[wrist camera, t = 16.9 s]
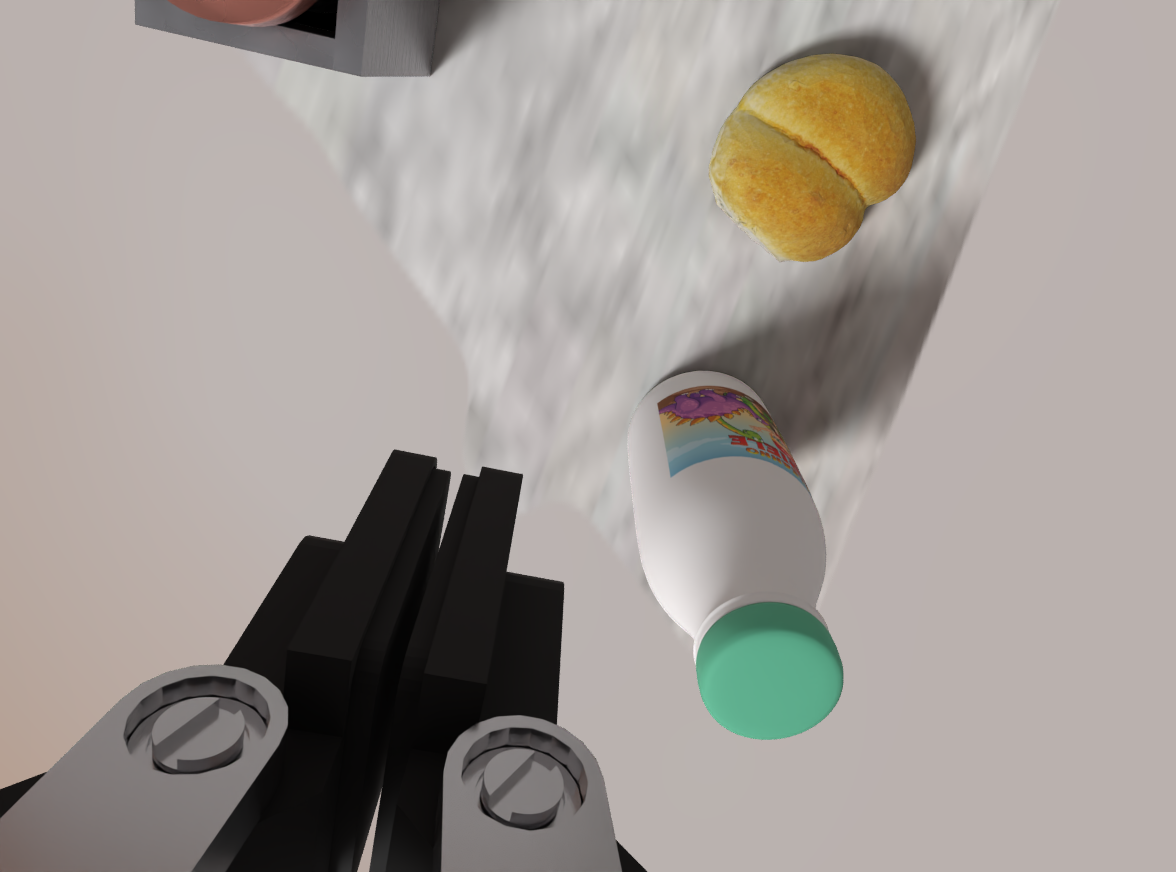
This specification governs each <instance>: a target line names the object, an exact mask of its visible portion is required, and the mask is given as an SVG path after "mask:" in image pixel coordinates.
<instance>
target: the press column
mask: <svg viewBox="0 0 1176 872" xmlns="http://www.w3.org/2000/svg"><path fill="white" fill-rule="evenodd" d="M439 2H440V0H338V9H337V21H336V32H333V31H329V30H325V29H320V28H316V27H312V26H308V25H303V24H299V23H296V18H294V19H292V20H290V21H287V22H285V23H281V24H278V25H273V26H266V27H250V26H243V25H236V24H229V23H222V22H216V21H210V20H207V19H203V18H200V17H197V16H194V15H192V14H190V13H188V12H186V11H183V10H182V9H180V8H178V7H177V6H175V5H173V4H172V3H170V2H169V1H168V0H135V24H136V25H140V26H144V27H148V28H153V29H158V30H161V31H166V32H170V33H175V34H179V35H183V36H188V37H192V38H196V39H201V40H205V41H209V42H214V43H218V44H223V45H227V46H231V47H235V48H240V49H244V50H248V51H253V52H257V53H261V54H266V55H270V56H274V57H279V58H283V59H287V60H292V61H296V62H300V63H305V64H309V65H313V66H318V67H322V68H326V69H331V70H335V71H339V72H344V73H348V74H352V75H357V76H361V77H377V76H430V74H431V66H432V58H433V50H434V42H435V34H436V26H437V18H438V10H439Z"/></svg>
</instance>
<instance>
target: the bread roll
mask: <svg viewBox="0 0 1176 872" xmlns="http://www.w3.org/2000/svg"><path fill="white" fill-rule="evenodd" d="M915 142H916V136H915V127H914V121H913V119H912V115H911V112H910V109H909V106H908V103H907V101H906V98H905V96H904V94H903V92H902V90H901V89H900V87H899V86H898V85H897V83H896V82H895V81H894V79H893V78H892V77H891V76H890V75H889V74H888V73H887V72H886V71H885V70H883V69H882V68H881V67H879V66H878V65H877V64H874V63H872V62H869V61H867V60H864V59H862V58H858V57H855V56H848V55H842V54H820V55H812V56H807V57H804V58H801V59H797V60H793V61H790V62H788V63H786V64H783V65H782V66H780V67H778V68H776V69H774V70H773V71H771V72H769V73H767V74H766V75H764V76H763V77H762V78H760V79H759V80H758V81H756V82H755V83H754V84H753V85H752V86H751V87H750V88H749V90H748V91H747V92H746V93H745V95H744V96H743V98H742V100H741V101H740V102H739V104H738V106H737V107H736V108H735V109H734V110H733V112H732V113H731V115H730V116H729V117H728V118H727V119H726V121H725V123H724V124H723V126H722V128H721V130H720V132H719V134H718V137H717V140H716V143H715V145H714V148H713V151H712V157H711V161H710V165H709V178H710V181H711V185H712V189H713V193H714V195H715V200H716V203H717V205H718V206H719V207H720V208H721V209H722V210H723V211H724V212H725V213H726V215H727V216H728V217H729V218H730V219H731V220H732V221H733V222H734V223H735V224H736V225H737V226H738V227H739V228H740V229H742V230H743V231H744V232H745V233H747V235H748V236H749V238H750V239H752V240H753V241H754V242H756V243H757V244H760V245H762V246H763V248H764V249H765V250H766V251H767V252H768V253H770V254H771V255H772V256H774V257H775V258H776V259H777V260H778V261H779V262H783V261H789V260H793V261H800V262H808V261H816V260H819V259H822V258H825V257H827V256H829V255H831V254H833V253H835V252H836V251H838V250H839V249H841V248H842V247H844V246H845V245H846V244H847V243H848V242H849V241H850V240H851V239H852V238H853V236H854V235H855V233H856V232H857V231H858V229H859V228H860V226H861V223H862V221H863V216H864V211H865V209H866V208H867V207H869V206H870V205H872V204H876V203H879V202H881V201H884V200H886V199H887V198H889V197H890V196H891V195H893V194H894V193H896V192H897V191H898V189H899V188H900V187H901V186H902V184H903V183H904V182H905V180H906V178H907V177H908V174H909V172H910V169H911V167H912V161H913V156H914V151H915Z"/></svg>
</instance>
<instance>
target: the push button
mask: <svg viewBox="0 0 1176 872" xmlns="http://www.w3.org/2000/svg"><path fill="white" fill-rule="evenodd" d="M168 1H169V2H170V3H172V4H173V5H175V6H177V7H178V8H180V9H182V10H183V11H186V12H188V13H190V14H192V15H194V16H197V17H200V18H203V19H207V20H210V21H216V22H222V23H229V24H236V25H243V26H250V27H266V26H273V25H278V24H281V23H285V22H287V21H290V20H292V19H294V18H296V17H298V16H299V15H301V14H302V13H304V12H305V11H311V12H317V13H334V12H337V9H338V0H168Z"/></svg>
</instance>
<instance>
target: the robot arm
mask: <svg viewBox="0 0 1176 872" xmlns="http://www.w3.org/2000/svg"><path fill="white" fill-rule="evenodd" d="M436 468H437V458H435V457H430V456H425V455H420V454H415V453H410V452H405V451H400V450H393V452H392V453H391V455H390V457H389V459H388V461H387V463H386V465H385V467H384V468H383V470H382V472H381V474H380V476H379V478H378V480H377V482H376V484H375V485H374V487H373V489H372V491H371V493H370V495H369V497H368V499H367V501H366V502H365V504H364V506H363V508H362V510H361V512H360V514H359V515H358V517H357V519H356V521H355V523H354V525H353V527H352V529H351V531H350V533H349V534H348V536H347V538H346V540H345V542H342V541H337V540H331V539H326V538H320V537H315V536H310V535H309V536H305V537H304V538H303V540H302V541H301V542H300V543H299V545H298V546H297V548H296V550H295V551H294V553H293V555H292V556H291V558H290V559H289V561H288V563H287V564H286V566H285V567H284V569H283V571H282V572H281V574H280V575H279V577H278V579H277V580H276V582H275V583H274V585H273V586H272V588H271V590H270V591H269V593H268V594H267V596H266V598H265V599H264V601H263V603H262V604H261V606H260V607H259V609H258V610H257V612H256V614H255V615H254V617H253V618H252V620H251V622H250V624H249V625H248V626H247V628H246V629H245V631H244V633H243V634H242V636H241V637H240V639H239V641H238V643H237V644H236V645H235V647H234V649H233V650H232V652H231V653H230V655H229V657H228V658H227V660H226V661H225V663H224V665H199V666H190V667H186V668H182V669H178V670H174V671H169V672H166V673H164V674H161V675H159V676H157V677H155V678H153V679H150V680H148V681H146V682H144V683H142V684H140V685H139V686H138V687H136V688H135V689H134V690H132V691H131V692H130V693H128V694H127V695H126V696H125V697H123V698H122V699H121V700H120V701H119V702H118V703H117V704H116V705H115V706H114V707H113V708H112V709H111V710H110V711H108V712H107V713H106V714H105V716H103V718H101V719H100V720H99V722H97V723H96V725H94V726H93V727H92V728H91V729H90V730H89V731H88V732H87V733H86V734H85V735H84V736H83V737H82V738H81V739H80V740H79V741H78V742H77V743H76V744H75V745H74V746H73V747H72V748H71V749H70V750H69V751H68V752H67V753H66V754H65V755H64V756H63V757H62V758H61V759H60V760H59V761H58V762H57V763H56V764H55V765H54V766H53V767H52V768H51V769H50V770H49V771H48V772H45V773H43V774H40V775H37V776H35V777H32V778H29V779H27V780H24V781H21V782H19V783H16V784H13V785H11V786H8V787H5V788H3V789H0V872H357V870H358V867H359V863H360V860H361V856H362V853H363V850H364V847H365V843H366V840H367V836H368V833H369V830H370V826H371V823H372V819H373V816H374V812H375V809H376V806H377V802H378V799H379V796H380V792H381V789H382V792H381V798H380V805H379V812H378V818H377V825H376V831H375V838H374V845H373V851H372V857H371V864H370V871H369V872H647V871H646V870H645V869H644V868H643V867H642V866H641V865H640V864H639V863H638V862H637V861H636V860H635V859H634V858H633V857H632V856H631V855H630V854H629V853H628V852H627V851H626V850H625V849H624V848H623V847H622V846H621V845H620V844H619V843H618V841H617V840H616V839H615V834H614V829H613V823H612V818H611V813H610V808H609V803H608V798H607V793H606V788H605V782H604V778H603V776H602V773H601V770H600V767H599V765H598V762H597V760H596V758H595V757H594V756H593V754H592V753H591V752H590V751H589V749H588V748H587V747H586V745H584V743H583V742H582V741H581V740H579V739H578V738H577V737H575V736H574V735H573V734H571V733H570V732H569V731H567V730H566V729H564V728H562V727H560V726H558V725H557V711H558V694H559V674H560V657H561V638H562V620H563V602H564V601H563V600H564V583H563V582H560V581H554V580H549V579H544V578H538V577H533V576H527V575H522V574H516V573H511V572H506V571H507V565H508V559H509V553H510V547H511V542H512V536H513V530H514V524H515V519H516V513H517V507H518V502H519V496H520V490H521V484H522V479H523V474H518V473H513V472H508V471H503V470H498V469H492V468H487V467H482V469H481V472H480V476H479V477H476V476H471V475H466V474H464V475H463V477H462V481H461V484H460V487H459V490H458V493H457V496H456V499H455V502H454V505H453V508H452V512H451V515H450V518H449V521H448V524H447V527H446V530H445V533H444V536H443V539H442V542H441V546H440V548H439V545H440V538H441V533H442V527H443V521H444V515H445V509H446V503H447V497H448V490H449V484H450V477H451V472H450V471H445V470H440V469H436ZM438 551H439V552H438Z"/></svg>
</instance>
